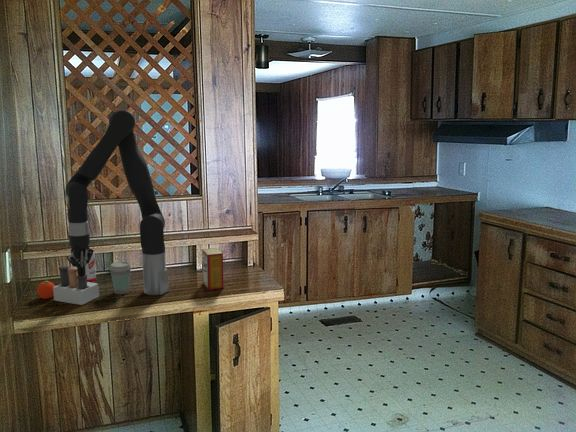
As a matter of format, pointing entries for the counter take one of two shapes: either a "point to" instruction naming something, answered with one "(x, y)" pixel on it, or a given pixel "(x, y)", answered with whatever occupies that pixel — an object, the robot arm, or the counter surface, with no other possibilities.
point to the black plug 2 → (82, 282)
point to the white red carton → (91, 270)
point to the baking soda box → (212, 268)
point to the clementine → (45, 290)
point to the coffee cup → (120, 277)
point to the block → (76, 293)
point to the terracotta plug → (73, 277)
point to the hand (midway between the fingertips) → (81, 275)
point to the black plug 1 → (64, 276)
